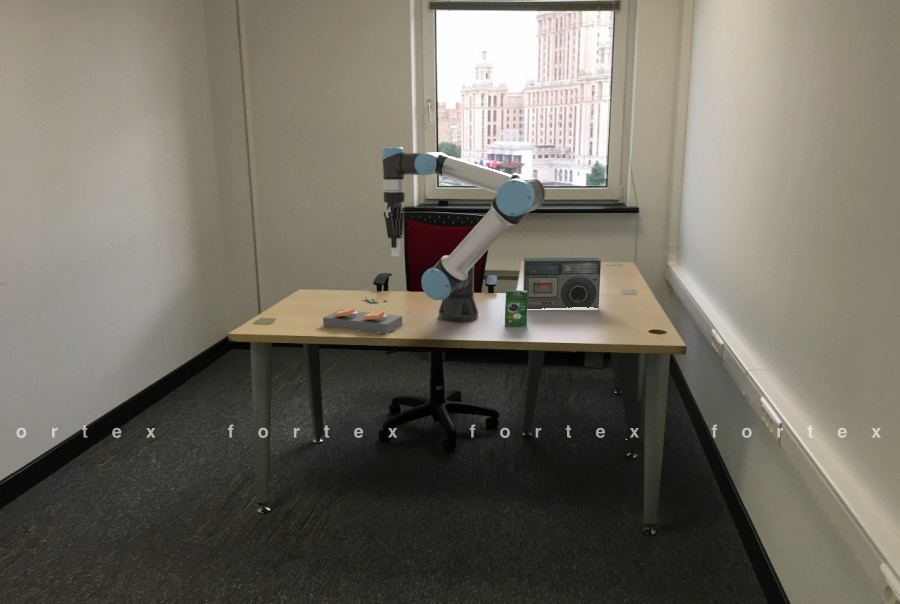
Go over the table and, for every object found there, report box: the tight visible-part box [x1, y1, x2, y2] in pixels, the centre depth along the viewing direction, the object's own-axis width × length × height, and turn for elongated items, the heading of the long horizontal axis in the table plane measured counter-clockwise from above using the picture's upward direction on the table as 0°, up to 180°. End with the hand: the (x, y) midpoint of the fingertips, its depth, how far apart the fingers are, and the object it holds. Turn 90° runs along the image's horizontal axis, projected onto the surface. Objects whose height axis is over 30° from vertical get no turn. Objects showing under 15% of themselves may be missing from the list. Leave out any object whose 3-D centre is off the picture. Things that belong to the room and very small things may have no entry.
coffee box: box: [504, 289, 528, 327], centre depth 242 cm, size 8×3×13 cm, turn 89°
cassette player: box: [522, 257, 602, 309], centre depth 265 cm, size 29×7×20 cm, turn 88°
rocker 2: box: [363, 312, 385, 320], centre depth 239 cm, size 6×4×1 cm
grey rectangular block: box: [322, 309, 403, 334], centre depth 244 cm, size 26×12×4 cm, turn 68°
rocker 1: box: [334, 308, 356, 317], centre depth 243 cm, size 6×4×1 cm
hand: (395, 255), depth 246 cm, fingers closed
